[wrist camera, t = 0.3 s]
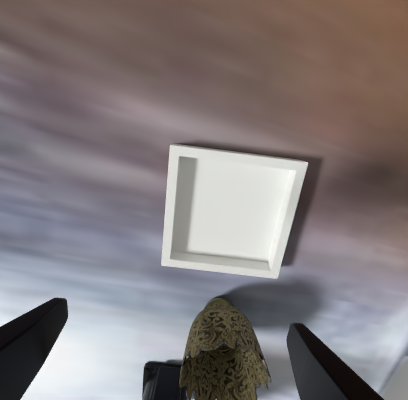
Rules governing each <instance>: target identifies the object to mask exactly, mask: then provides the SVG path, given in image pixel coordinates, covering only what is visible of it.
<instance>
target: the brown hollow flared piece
mask: <svg viewBox="0 0 408 400" xmlns="http://www.w3.org/2000/svg"><path fill="white" fill-rule="evenodd" d="M267 382H271V377H270V374H269V371H268V368H267V364H266V362H265V359H264V356H263V354H262V351H261V348H260V345H259V343H258V340H257V337H256V335H255V332H254V330H253V328H252V326H251V324H250V322H249V320H248V319H247V317H246V316H245V315H244V314H243V313H242V312H241V311H240V310H238V309H237V308H235V306H234V305H233V304H232V303H231V302H230V301H229V300H228V299H225V298H214V299H212V300H210V301H209V302H208V303H207V305H206V306H205V308H204V310H202V311H201V312H200V313H199V314H198V315H197V317H196V318H195V320H194V322H193V324H192V326H191V329H190V332H189V336H188V340H187V344H186V348H185V353H184V358H183V362H182V367H181V370H180V379H179V384H180V388H182V387H184V386H186V396H187V398H190V397H191V395H192V393H193V391H194V398H195V400H215V399H216V398H217V400H257V394H256V388H257V387H261V383H263V384H264V385H265V387H266V389H268V383H267Z"/></svg>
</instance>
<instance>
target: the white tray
mask: <svg viewBox="0 0 408 400" xmlns="http://www.w3.org/2000/svg"><path fill="white" fill-rule="evenodd" d="M307 166H308V162H305V161H302V160H298V159H290V158H282V157H274V156H267V155H259V154H251V153H243V152H235V151H227V150H219V149H212V148H204V147H196V146H188V145H180V144H171V145H170V153H169V167H168V180H167V194H166V207H165V221H164V234H163V248H162V261H161V265H162V266H170V267H179V268H188V269H196V270H205V271H214V272H222V273H231V274H240V275H248V276H257V277H266V278H274V279H277V278H278V275H279V271H280V267H281V263H282V260H283V256H284V253H285V251H286V247H287V243H288V239H289V236H290V232H291V228H292V224H293V221H294V217H295V213H296V209H297V206H298V202H299V198H300V192H301V188H302V184H303V181H304V177H305V173H306V169H307Z"/></svg>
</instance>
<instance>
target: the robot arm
mask: <svg viewBox="0 0 408 400" xmlns="http://www.w3.org/2000/svg"><path fill="white" fill-rule="evenodd" d="M67 318H68V307H67V300H66V299H65V298H53V299H51V300H49V301H48V302H46V303H44V304H42V305H40V306H38V307H36V308H34V309H33V310H31V311H29V312H27V313H25V314H23V315H21V316H20V317H18V318H16V319H14V320H12V321H10V322H8V323H6V324H5V325H3V326H1V327H0V400H20V399H21V398H22V396H23V394H24V393H25V391H26V390H27V388H28V387H29V385H30V384H31V382H32V381H33V379H34V378H35V376H36V375H37V373H38V372H39V370H40V368H41V367H42V365H43V364H44V362H45V360H46V358H47V357H48V355H49V353H50V351H51V349H52V347H53V345H54V344H55V342H56V340H57V338H58V336H59V334H60V333H61V331H62V329H63V327H64V325H65V323H66V321H67ZM287 347H288V351H289V356H290V360H291V364H292V369H293V373H294V377H295V382H296V386H297V390H298V393H299V396H300V399H301V400H384V399H383V398H382V397H381V396H380V395H379V394H378V393H376V392H375V391H374V390H373V389H372V388H371V387H370V386H369V385H368V384H367V383H366V382H365V381H364V380H363V379H361V378H360V377H359V376H358V375H357V374H356V373H355V372H354V371H353V370H352V369H351V368H350V367H349V366H348V365H346V364H345V363H344V362H343V361H342V360H341V359H340V358H339V357H338V356H337V355H336V354H335V353H334V352H333V351H331V350H330V349H329V348H328V347H327V346H326V345H325V344H324V343H323V342H322V341H321V340H320V339H319V338H318V337H316V336H315V335H314V334H313V333H312V332H311V331H310V330H309V329H308V328H307V327H306V326H305V325H303V324H302V323H294V322H293V323H291V325H290V329H289V332H288V336H287ZM181 367H182V366H173V365H164V364H154V363H146V364H145V366H144V376H143V394H142V400H191V397H190V398H187V396H186V386H184V387H182V388H180V384H179V379H180V370H181Z"/></svg>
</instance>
